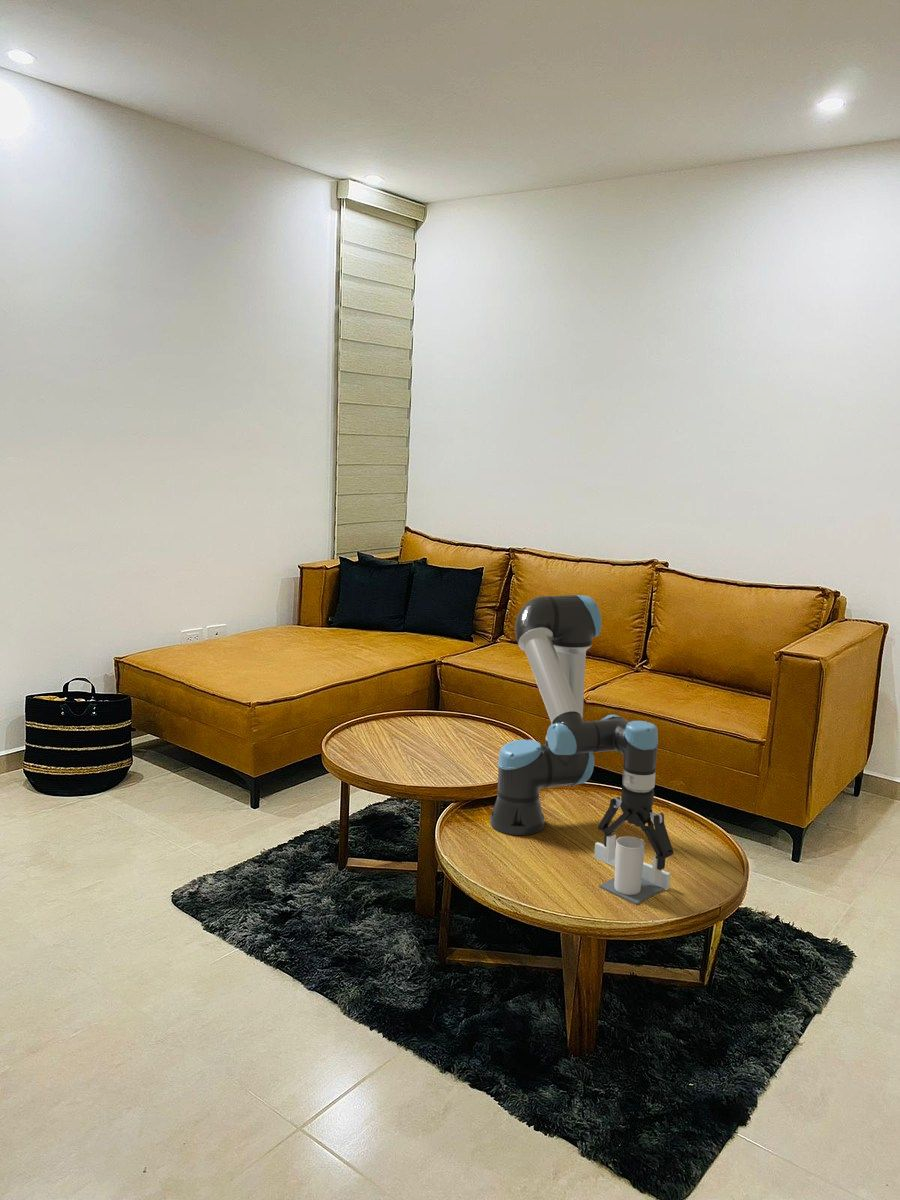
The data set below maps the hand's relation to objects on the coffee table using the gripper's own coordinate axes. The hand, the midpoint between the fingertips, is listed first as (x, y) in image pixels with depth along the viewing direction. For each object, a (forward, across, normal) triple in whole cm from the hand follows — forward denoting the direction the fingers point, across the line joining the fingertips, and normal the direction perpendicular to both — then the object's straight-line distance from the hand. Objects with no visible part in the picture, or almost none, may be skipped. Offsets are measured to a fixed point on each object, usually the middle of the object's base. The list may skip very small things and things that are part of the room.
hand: (632, 870), depth 215 cm
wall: (+5, -5, +6) cm, 9 cm away
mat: (+5, 0, 0) cm, 5 cm away
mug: (+4, 0, 0) cm, 5 cm away
